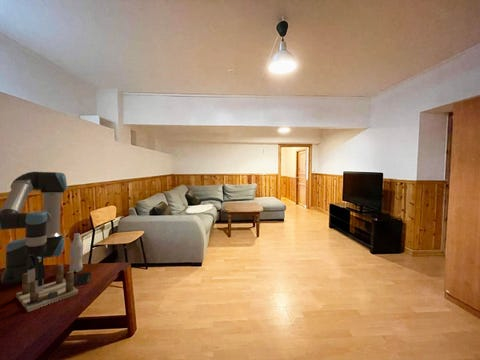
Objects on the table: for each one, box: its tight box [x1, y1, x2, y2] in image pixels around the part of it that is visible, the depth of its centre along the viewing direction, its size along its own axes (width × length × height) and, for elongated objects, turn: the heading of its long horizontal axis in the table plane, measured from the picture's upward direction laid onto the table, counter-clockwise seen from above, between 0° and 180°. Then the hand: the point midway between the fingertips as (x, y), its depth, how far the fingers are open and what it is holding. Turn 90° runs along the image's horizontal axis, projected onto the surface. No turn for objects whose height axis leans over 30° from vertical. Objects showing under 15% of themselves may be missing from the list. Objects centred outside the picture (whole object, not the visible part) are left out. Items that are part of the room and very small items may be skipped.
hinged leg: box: [30, 280, 58, 303], centre depth 110 cm, size 4×10×10 cm, turn 137°
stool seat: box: [16, 263, 79, 313], centre depth 116 cm, size 20×20×12 cm
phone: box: [73, 272, 92, 287], centre depth 135 cm, size 8×1×15 cm
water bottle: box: [68, 232, 84, 273], centre depth 144 cm, size 7×7×25 cm
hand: (35, 286), depth 107 cm, fingers open, 13 cm apart
